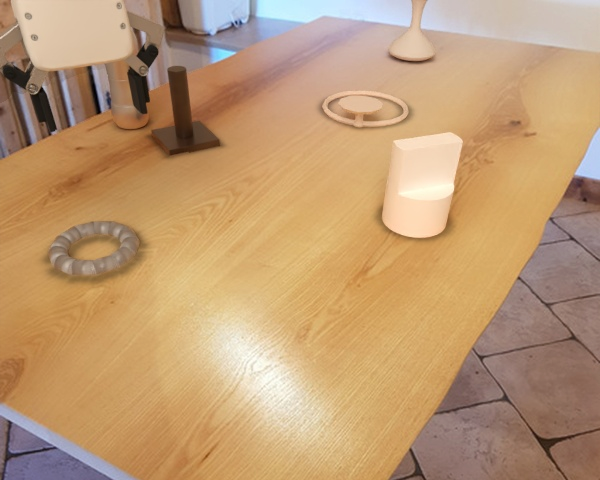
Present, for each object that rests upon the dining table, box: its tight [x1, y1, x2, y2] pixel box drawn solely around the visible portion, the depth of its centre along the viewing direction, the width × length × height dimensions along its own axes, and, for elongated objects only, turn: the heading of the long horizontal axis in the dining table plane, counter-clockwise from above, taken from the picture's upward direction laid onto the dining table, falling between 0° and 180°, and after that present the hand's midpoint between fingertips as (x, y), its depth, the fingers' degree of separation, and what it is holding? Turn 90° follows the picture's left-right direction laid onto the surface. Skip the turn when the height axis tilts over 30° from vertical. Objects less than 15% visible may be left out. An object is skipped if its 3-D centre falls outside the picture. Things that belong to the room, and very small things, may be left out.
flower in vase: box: [387, 0, 436, 62], centre depth 125 cm, size 13×11×25 cm
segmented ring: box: [47, 220, 141, 276], centre depth 69 cm, size 11×11×2 cm
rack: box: [150, 65, 221, 157], centre depth 91 cm, size 9×9×12 cm
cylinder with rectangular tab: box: [381, 131, 464, 239], centre depth 73 cm, size 9×9×12 cm
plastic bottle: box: [104, 29, 150, 130], centre depth 94 cm, size 6×7×20 cm
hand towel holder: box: [321, 89, 409, 128], centre depth 105 cm, size 17×4×21 cm
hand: (97, 118), depth 59 cm, fingers open, 9 cm apart
